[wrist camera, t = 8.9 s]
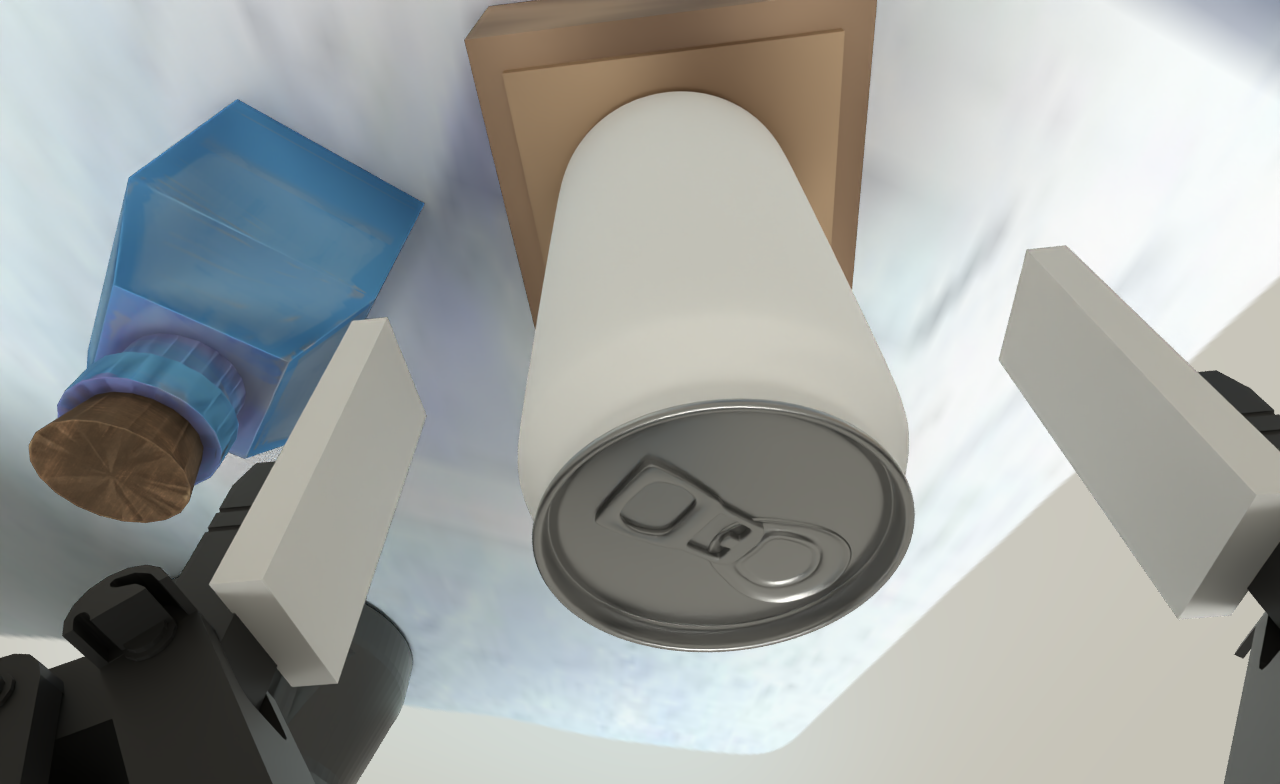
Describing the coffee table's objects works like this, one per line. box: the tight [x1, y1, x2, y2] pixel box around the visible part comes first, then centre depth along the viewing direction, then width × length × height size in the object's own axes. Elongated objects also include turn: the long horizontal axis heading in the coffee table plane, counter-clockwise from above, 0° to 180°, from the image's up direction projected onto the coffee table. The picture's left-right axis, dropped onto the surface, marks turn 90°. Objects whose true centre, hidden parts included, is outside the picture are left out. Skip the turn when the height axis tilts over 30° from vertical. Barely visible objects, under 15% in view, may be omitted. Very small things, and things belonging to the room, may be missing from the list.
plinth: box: [464, 0, 877, 329], centre depth 22 cm, size 10×10×4 cm
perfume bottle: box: [29, 99, 424, 523], centre depth 20 cm, size 6×6×12 cm
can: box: [518, 91, 915, 652], centre depth 15 cm, size 6×6×12 cm
